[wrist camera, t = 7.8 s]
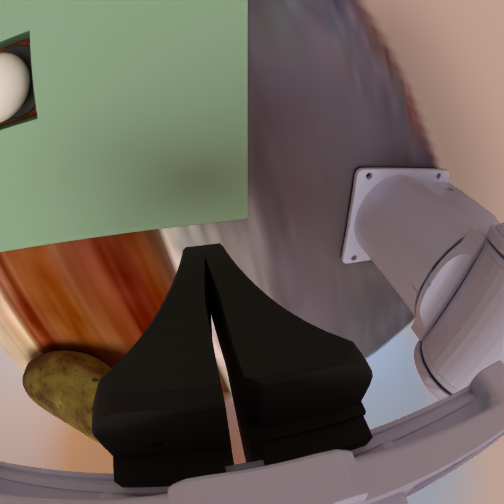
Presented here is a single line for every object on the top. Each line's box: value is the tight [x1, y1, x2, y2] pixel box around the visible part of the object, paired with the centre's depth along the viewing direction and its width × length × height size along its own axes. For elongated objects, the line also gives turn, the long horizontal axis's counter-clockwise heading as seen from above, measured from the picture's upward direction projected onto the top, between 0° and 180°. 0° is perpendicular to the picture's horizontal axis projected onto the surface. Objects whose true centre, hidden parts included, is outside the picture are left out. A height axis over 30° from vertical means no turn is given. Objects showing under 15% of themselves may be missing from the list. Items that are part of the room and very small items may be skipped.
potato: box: [23, 350, 112, 443], centre depth 24 cm, size 8×13×8 cm, turn 58°
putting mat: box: [0, 0, 248, 252], centre depth 14 cm, size 20×16×2 cm
